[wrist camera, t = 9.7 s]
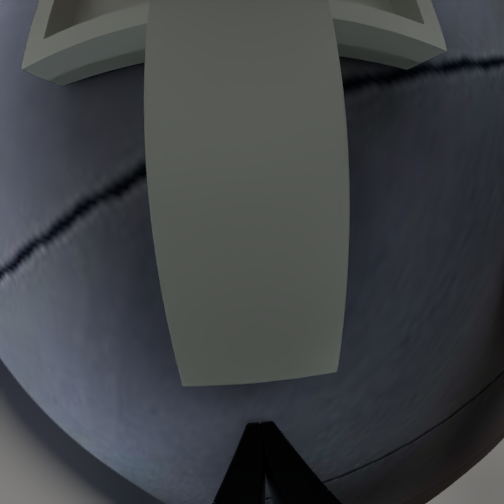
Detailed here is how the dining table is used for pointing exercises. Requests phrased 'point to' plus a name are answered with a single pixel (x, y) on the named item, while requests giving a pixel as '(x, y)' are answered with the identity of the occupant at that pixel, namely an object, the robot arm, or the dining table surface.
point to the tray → (242, 160)
